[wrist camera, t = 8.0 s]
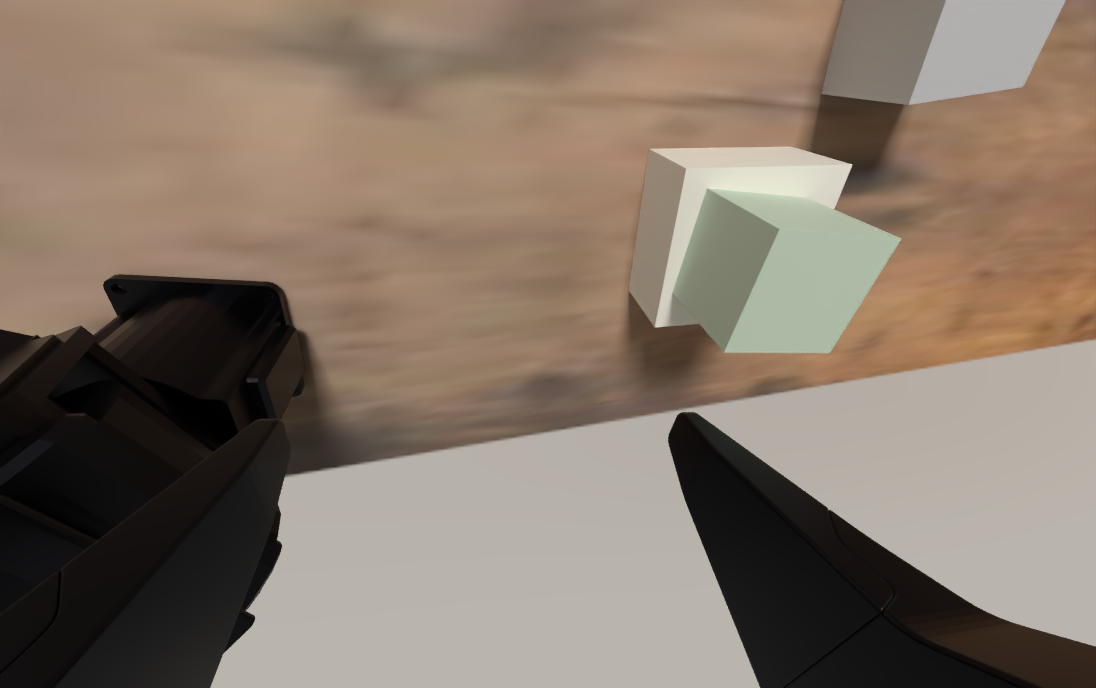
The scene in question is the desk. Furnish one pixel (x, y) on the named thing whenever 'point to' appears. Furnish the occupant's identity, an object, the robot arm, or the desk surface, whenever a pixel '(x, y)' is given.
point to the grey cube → (935, 47)
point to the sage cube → (777, 271)
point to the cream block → (679, 196)
